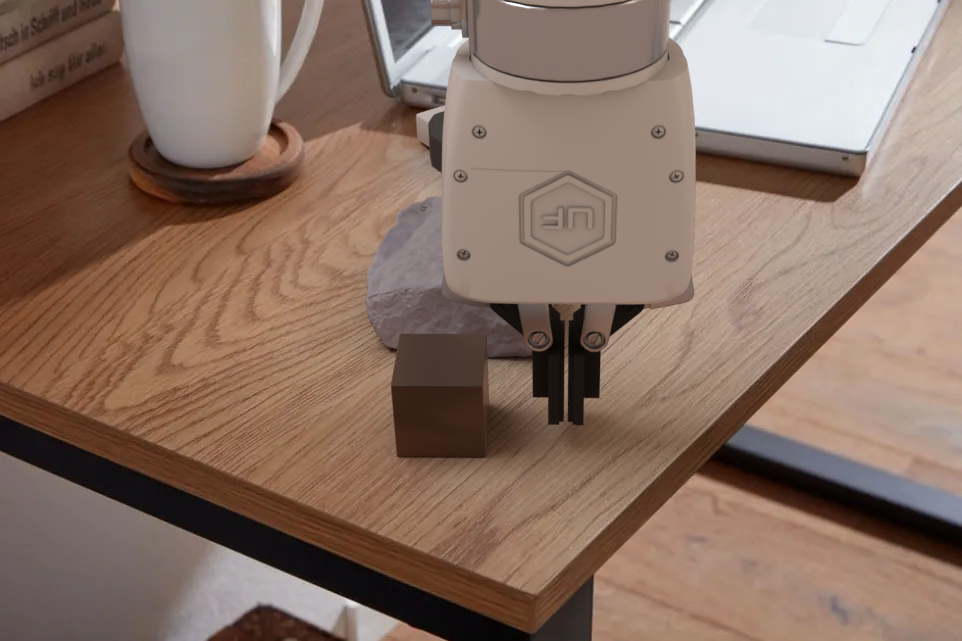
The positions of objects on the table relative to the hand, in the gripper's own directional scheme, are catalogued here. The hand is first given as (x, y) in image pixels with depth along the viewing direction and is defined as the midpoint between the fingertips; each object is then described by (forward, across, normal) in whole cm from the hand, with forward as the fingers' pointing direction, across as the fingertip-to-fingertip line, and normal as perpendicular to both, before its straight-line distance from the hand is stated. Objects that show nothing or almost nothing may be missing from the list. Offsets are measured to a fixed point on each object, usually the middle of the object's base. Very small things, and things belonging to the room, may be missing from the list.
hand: (565, 405), depth 61 cm
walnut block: (+1, -6, 0) cm, 6 cm away
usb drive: (+2, -5, +25) cm, 26 cm away
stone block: (+2, -5, +11) cm, 13 cm away
